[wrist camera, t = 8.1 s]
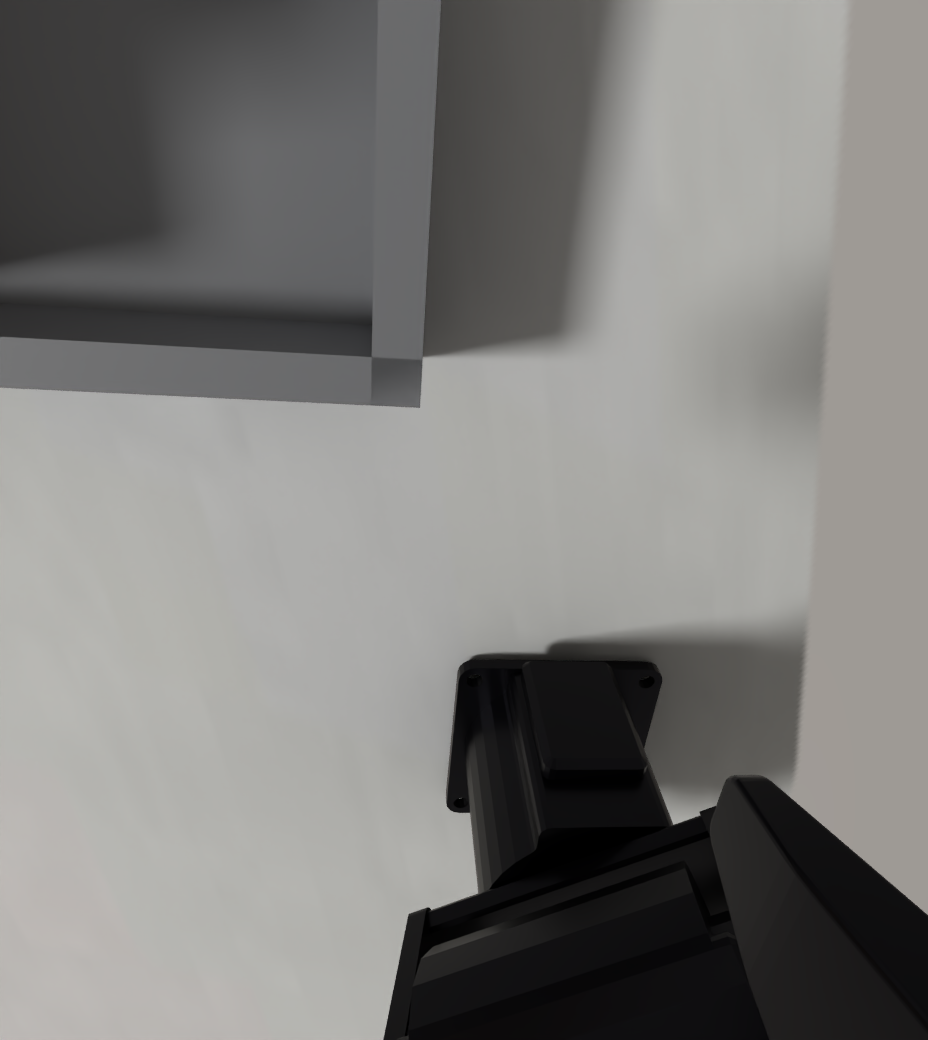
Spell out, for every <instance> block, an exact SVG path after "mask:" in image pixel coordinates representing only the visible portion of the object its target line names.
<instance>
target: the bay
mask: <svg viewBox="0 0 928 1040" xmlns="http://www.w3.org/2000/svg"><path fill="white" fill-rule="evenodd" d="M440 13H441V0H0V388H21V389H42V390H63V391H83V392H104V393H125V394H146V395H167V396H187V397H208V398H229V399H250V400H271V401H291V402H312V403H333V404H354V405H375V406H396V407H416V408H420V396H421V377H422V358H423V338H424V319H425V300H426V281H427V262H428V243H429V224H430V204H431V185H432V166H433V147H434V128H435V109H436V90H437V70H438V51H439V32H440Z"/></svg>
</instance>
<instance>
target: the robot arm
mask: <svg viewBox="0 0 928 1040" xmlns="http://www.w3.org/2000/svg"><path fill="white" fill-rule="evenodd" d="M474 674H476V675H480V676H479V677H477V678H469V676H471V675H474ZM645 676H649V677H648V678H646V679H643V680H640V679H641V678H643V677H645ZM661 684H662V676H661V674H660V672H659V670H658V668H657V666H656V665H655V664H653V663H651V662H639V661H550V660H469V661H467V662H465V663H463V664H462V665H461V666H460V667H459V670H458V674H457V684H456V694H455V705H454V715H453V725H452V736H451V746H450V756H449V767H448V777H447V788H446V802H447V807H448V808H449V809H450V810H451V811H453V812H458V813H470V815H471V825H472V835H473V845H474V855H475V864H476V874H477V884H478V894H476V895H473V896H470V897H467V898H464V899H461V900H459V901H456V902H453V903H450V904H447V905H444V906H442V907H439V908H436V909H433V910H431V909H430V908H429V907H428V908H425V909H422V910H419V911H416V912H413V913H411V914H409V916H408V920H407V925H406V930H405V935H404V940H403V945H402V950H401V955H400V960H399V965H398V970H397V975H396V980H395V985H394V990H393V995H392V1000H391V1005H390V1010H389V1015H388V1020H387V1025H386V1030H385V1035H384V1040H928V915H927V914H926V913H925V912H923V911H922V910H921V909H920V908H919V907H918V906H917V905H915V904H914V903H913V902H912V901H911V900H909V899H908V898H907V897H906V896H905V895H904V894H903V893H901V892H900V891H899V890H898V889H897V888H896V887H894V886H893V885H892V884H891V883H890V882H888V881H887V880H886V879H885V878H884V877H882V876H881V875H880V874H879V873H878V872H877V871H876V870H874V869H873V868H872V867H871V866H870V865H869V864H867V863H866V862H865V861H864V860H863V859H862V858H860V857H859V856H858V855H857V854H856V853H855V852H853V851H852V850H851V849H850V848H849V847H848V846H846V845H845V844H844V843H843V842H842V841H841V840H839V839H838V838H837V837H836V836H835V835H834V834H832V833H831V832H830V831H829V830H828V829H827V828H825V827H824V826H823V825H822V824H821V823H819V822H818V821H817V820H816V819H815V818H814V817H812V816H811V815H810V814H809V813H808V812H807V811H805V810H804V809H803V808H802V807H801V806H800V805H798V804H797V803H796V802H795V801H794V800H793V799H791V798H790V797H789V796H788V795H787V794H786V793H784V792H783V791H782V790H781V789H780V788H779V787H777V786H776V785H775V784H774V783H773V782H771V781H770V780H769V779H767V778H765V777H763V776H759V775H734V776H731V777H729V778H728V779H727V780H726V782H725V784H724V786H723V789H722V792H721V794H720V797H719V800H718V803H717V806H714V807H712V808H709V809H706V810H703V811H700V815H701V816H698V817H695V818H692V819H689V820H686V821H683V822H681V823H678V824H675V825H673V823H672V820H671V817H670V815H669V812H668V810H667V807H666V805H665V802H664V799H663V797H662V794H661V792H660V789H659V786H658V784H657V781H656V779H655V776H654V774H653V771H652V768H651V766H650V763H649V761H648V758H647V755H646V753H645V750H644V746H645V742H646V739H647V735H648V731H649V728H650V724H651V720H652V717H653V713H654V709H655V706H656V702H657V698H658V695H659V691H660V688H661ZM459 798H460V799H459Z"/></svg>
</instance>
